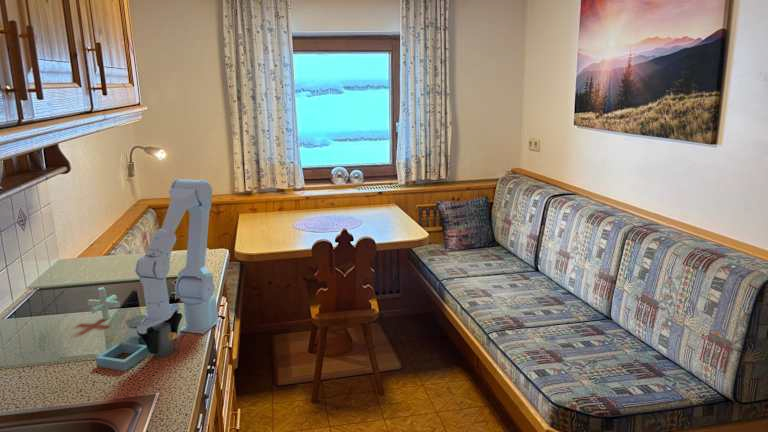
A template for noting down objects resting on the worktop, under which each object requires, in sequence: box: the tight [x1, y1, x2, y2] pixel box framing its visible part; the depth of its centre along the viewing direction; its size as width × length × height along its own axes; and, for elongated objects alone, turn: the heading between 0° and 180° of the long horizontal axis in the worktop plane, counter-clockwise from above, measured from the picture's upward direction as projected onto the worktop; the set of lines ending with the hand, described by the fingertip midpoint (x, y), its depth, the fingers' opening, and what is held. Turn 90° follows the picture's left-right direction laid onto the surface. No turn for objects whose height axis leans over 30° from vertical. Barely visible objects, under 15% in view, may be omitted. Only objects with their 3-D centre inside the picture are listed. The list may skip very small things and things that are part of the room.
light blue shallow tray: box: [95, 341, 151, 372], centre depth 148 cm, size 9×9×2 cm
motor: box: [124, 314, 146, 345], centre depth 157 cm, size 11×7×7 cm
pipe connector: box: [87, 286, 121, 321], centre depth 172 cm, size 10×10×10 cm
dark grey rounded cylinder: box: [153, 322, 178, 359], centre depth 150 cm, size 5×6×8 cm
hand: (163, 346), depth 151 cm, fingers open, 7 cm apart
